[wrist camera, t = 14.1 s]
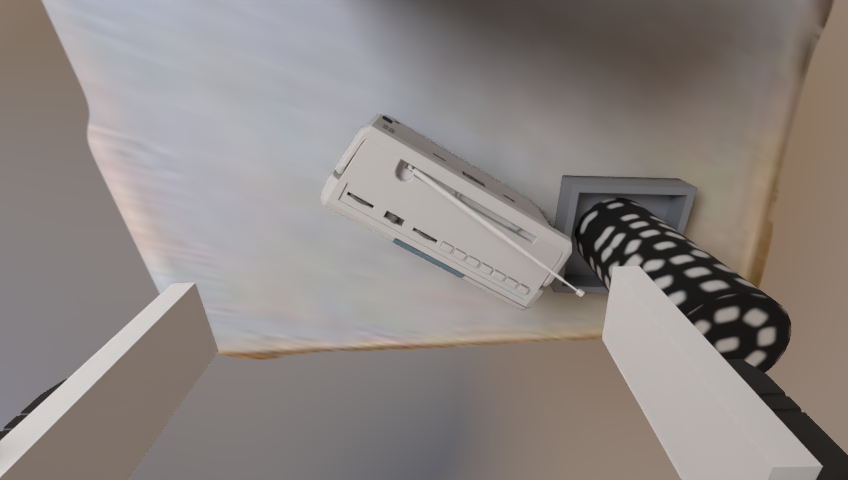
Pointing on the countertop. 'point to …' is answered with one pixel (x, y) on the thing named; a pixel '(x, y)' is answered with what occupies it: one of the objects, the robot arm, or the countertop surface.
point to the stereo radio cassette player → (446, 212)
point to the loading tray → (583, 192)
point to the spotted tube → (685, 280)
